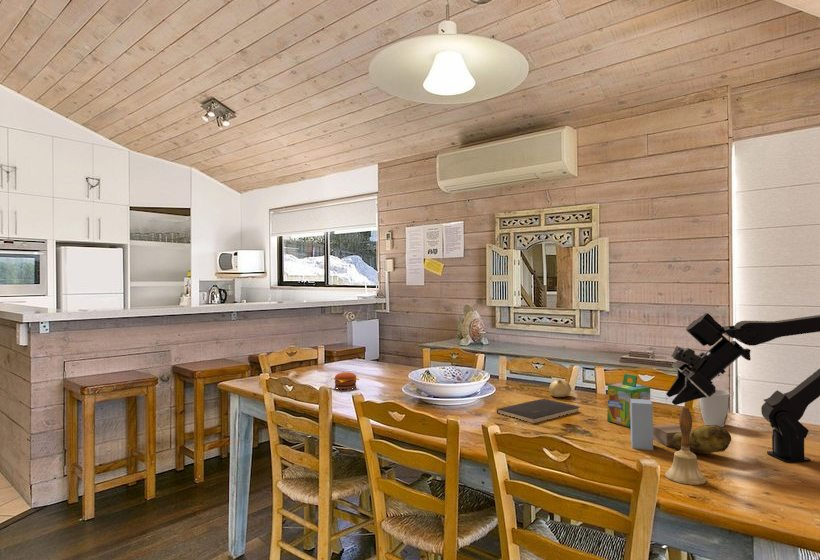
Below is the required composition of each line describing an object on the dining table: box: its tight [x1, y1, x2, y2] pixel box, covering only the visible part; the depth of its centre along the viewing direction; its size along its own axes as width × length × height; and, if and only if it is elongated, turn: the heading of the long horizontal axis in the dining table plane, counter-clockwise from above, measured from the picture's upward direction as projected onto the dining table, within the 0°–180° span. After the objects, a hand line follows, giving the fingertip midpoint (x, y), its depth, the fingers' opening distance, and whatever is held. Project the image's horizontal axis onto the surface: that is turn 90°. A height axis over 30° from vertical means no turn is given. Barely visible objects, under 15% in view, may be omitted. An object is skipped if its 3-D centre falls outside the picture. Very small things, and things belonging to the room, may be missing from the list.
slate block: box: [630, 399, 654, 451], centre depth 140 cm, size 5×5×12 cm
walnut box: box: [653, 424, 681, 448], centre depth 143 cm, size 7×7×4 cm
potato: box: [672, 424, 732, 455], centre depth 133 cm, size 8×13×8 cm, turn 26°
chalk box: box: [606, 373, 651, 429], centre depth 162 cm, size 9×9×15 cm
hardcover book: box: [496, 398, 581, 424], centre depth 176 cm, size 16×23×2 cm
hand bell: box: [664, 406, 707, 486], centre depth 118 cm, size 8×8×16 cm
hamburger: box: [331, 371, 360, 390], centre depth 221 cm, size 9×10×7 cm
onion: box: [548, 378, 572, 398], centre depth 199 cm, size 8×8×7 cm
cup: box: [698, 389, 731, 428], centre depth 158 cm, size 8×8×10 cm
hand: (670, 399), depth 137 cm, fingers open, 9 cm apart
